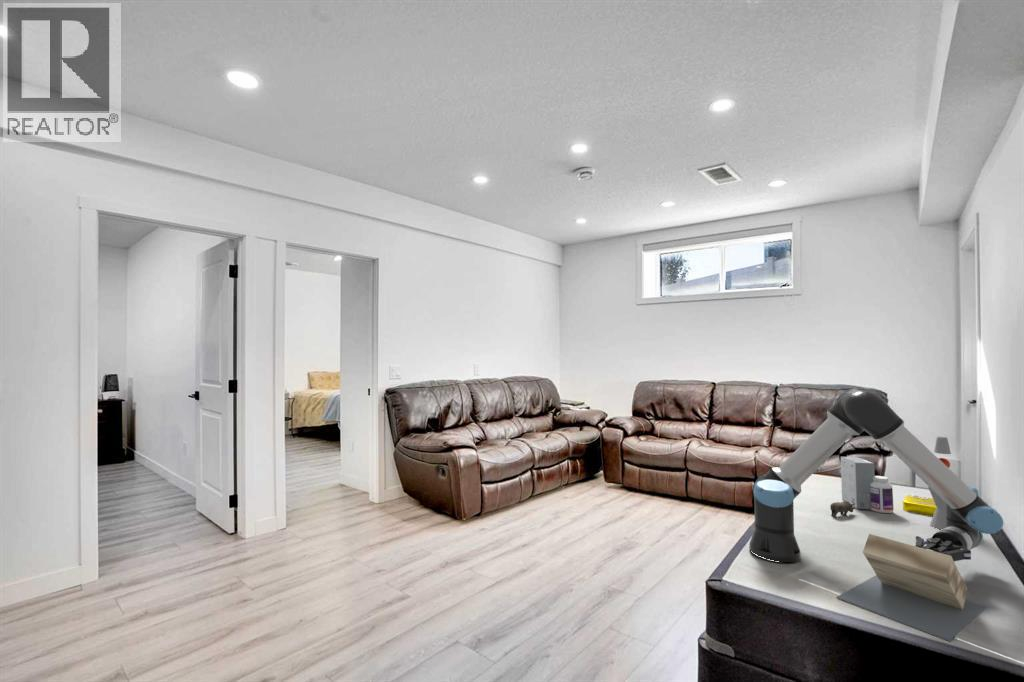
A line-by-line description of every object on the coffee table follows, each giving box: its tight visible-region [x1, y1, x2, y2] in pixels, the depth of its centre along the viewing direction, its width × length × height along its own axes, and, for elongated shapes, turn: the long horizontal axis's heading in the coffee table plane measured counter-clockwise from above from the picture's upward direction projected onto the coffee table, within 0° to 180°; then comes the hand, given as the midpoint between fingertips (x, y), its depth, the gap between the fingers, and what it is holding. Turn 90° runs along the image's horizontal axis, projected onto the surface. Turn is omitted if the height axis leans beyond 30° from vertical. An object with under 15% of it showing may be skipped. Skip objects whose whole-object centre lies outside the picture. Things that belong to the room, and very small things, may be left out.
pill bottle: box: [870, 475, 894, 514], centre depth 208 cm, size 8×8×14 cm
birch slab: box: [862, 533, 968, 610], centre depth 132 cm, size 6×18×16 cm
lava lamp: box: [927, 436, 952, 530], centre depth 188 cm, size 9×9×35 cm
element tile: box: [902, 494, 937, 517], centre depth 209 cm, size 15×15×5 cm
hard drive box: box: [840, 456, 876, 510], centre depth 216 cm, size 16×8×20 cm, turn 167°
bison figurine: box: [830, 500, 855, 519], centre depth 202 cm, size 4×14×6 cm, turn 110°
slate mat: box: [836, 574, 989, 642], centre depth 131 cm, size 28×24×1 cm
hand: (921, 559), depth 134 cm, fingers closed
